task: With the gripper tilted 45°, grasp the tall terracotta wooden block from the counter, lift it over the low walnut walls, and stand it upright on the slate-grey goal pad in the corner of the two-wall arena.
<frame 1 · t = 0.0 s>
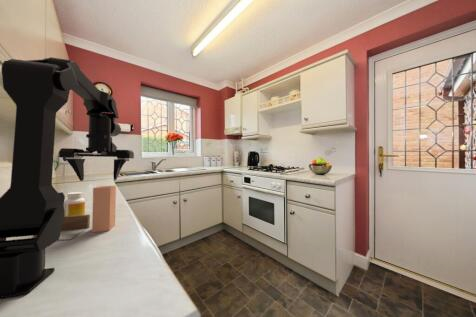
hand: (98, 180, 57), 15 cm above the countertop, tool pointing down, fingers open, 9 cm apart
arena: (63, 235, 50), on the countertop
terracotta block: (104, 228, 55), on the countertop
supplement bottle: (74, 221, 62), on the countertop
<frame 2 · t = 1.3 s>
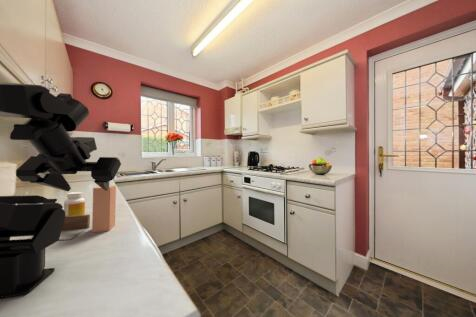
hand: (88, 189, 48), 13 cm above the countertop, tool tilted 45°, fingers open, 9 cm apart
nothing on the countertop moved.
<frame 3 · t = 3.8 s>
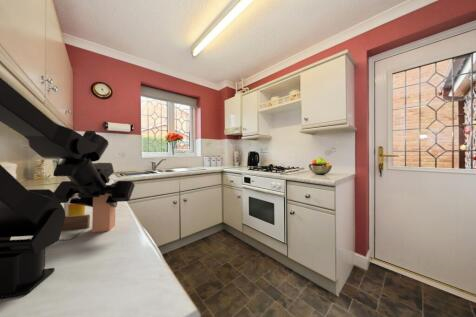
hand: (107, 206, 56), 7 cm above the countertop, tool tilted 45°, fingers closed on terracotta block, 5 cm apart
terracotta block: (104, 228, 55), on the countertop, touching gripper
everything else where it was.
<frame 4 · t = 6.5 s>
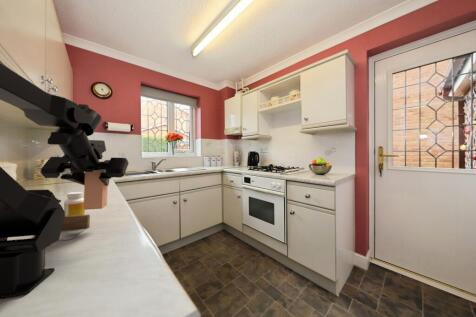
hand: (98, 185, 55), 13 cm above the countertop, tool tilted 45°, fingers closed on terracotta block, 5 cm apart
terracotta block: (95, 207, 54), point 7 cm above the countertop, touching gripper
everything else where it was.
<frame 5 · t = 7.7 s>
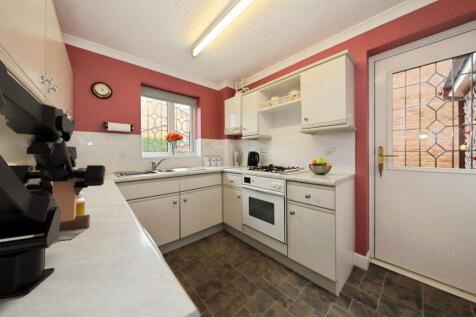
hand: (66, 194, 51), 11 cm above the countertop, tool tilted 45°, fingers closed on terracotta block, 5 cm apart
terracotta block: (64, 219, 50), point 5 cm above the countertop, touching gripper
everything else where it was.
when the fingers open (8 cm above the countertop, at t = 8.7 s): terracotta block drops 1 cm, resting on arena.
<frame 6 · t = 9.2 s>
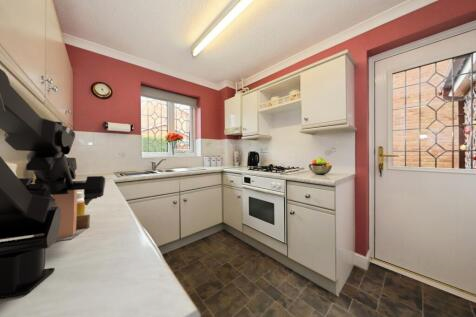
hand: (66, 205, 51), 8 cm above the countertop, tool tilted 45°, fingers open, 9 cm apart
terracotta block: (64, 234, 50), resting on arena
everything else where it was.
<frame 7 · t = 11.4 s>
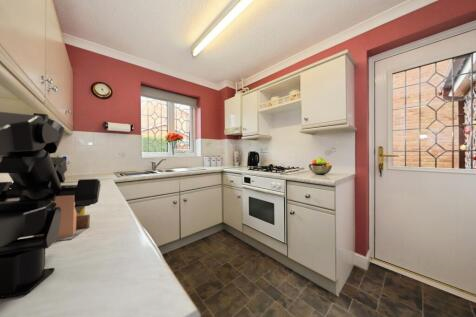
hand: (54, 214, 43), 8 cm above the countertop, tool tilted 45°, fingers open, 9 cm apart
nothing on the countertop moved.
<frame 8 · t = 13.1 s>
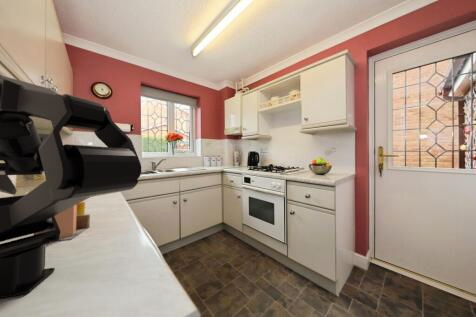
hand: (43, 191, 43), 14 cm above the countertop, tool tilted 45°, fingers open, 9 cm apart
nothing on the countertop moved.
at the end: terracotta block 0.0 cm off-centre on the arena, point 0.3 cm above the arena's base; terracotta block tilted 0°; the gripper is holding nothing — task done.
